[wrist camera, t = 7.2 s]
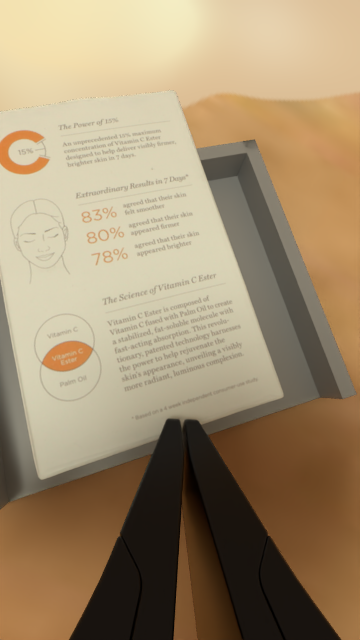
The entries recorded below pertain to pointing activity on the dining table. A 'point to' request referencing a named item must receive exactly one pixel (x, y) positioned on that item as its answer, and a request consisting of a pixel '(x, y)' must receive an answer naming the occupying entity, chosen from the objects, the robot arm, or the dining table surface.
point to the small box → (119, 280)
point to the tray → (267, 300)
